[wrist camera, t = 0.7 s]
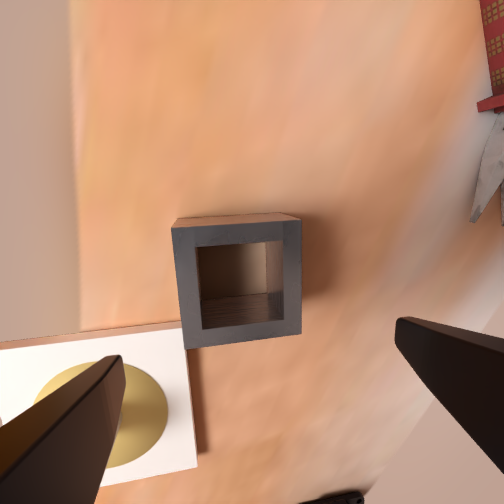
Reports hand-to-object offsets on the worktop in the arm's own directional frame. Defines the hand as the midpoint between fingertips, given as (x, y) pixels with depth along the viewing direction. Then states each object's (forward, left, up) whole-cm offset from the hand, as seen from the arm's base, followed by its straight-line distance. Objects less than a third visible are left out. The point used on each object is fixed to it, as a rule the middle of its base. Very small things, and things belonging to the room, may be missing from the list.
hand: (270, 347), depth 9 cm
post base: (-9, +9, -10) cm, 16 cm away
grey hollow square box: (0, 0, -10) cm, 10 cm away
